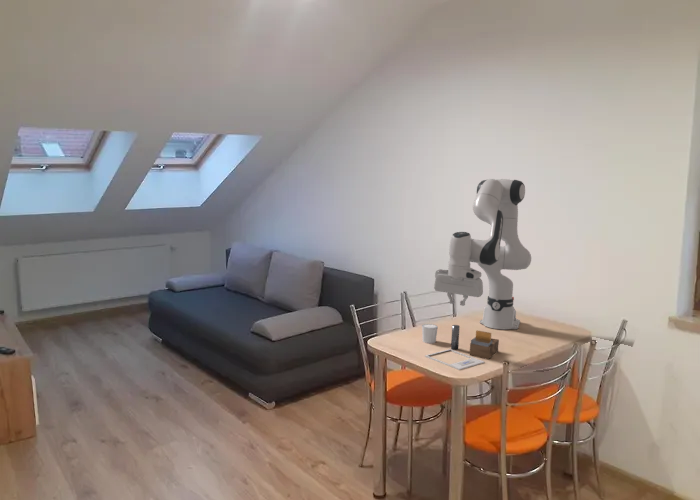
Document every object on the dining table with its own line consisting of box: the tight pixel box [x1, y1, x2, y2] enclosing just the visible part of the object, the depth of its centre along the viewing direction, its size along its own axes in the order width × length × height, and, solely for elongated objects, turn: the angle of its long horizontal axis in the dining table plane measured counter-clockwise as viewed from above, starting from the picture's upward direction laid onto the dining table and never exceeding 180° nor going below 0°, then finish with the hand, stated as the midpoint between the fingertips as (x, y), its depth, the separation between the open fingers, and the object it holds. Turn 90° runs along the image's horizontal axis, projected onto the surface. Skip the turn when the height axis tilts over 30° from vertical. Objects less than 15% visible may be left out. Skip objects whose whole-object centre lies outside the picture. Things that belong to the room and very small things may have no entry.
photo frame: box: [424, 348, 485, 371], centre depth 219 cm, size 15×1×18 cm
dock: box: [469, 337, 500, 360], centre depth 227 cm, size 12×8×5 cm, turn 148°
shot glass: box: [421, 323, 438, 344], centre depth 241 cm, size 7×7×7 cm
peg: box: [450, 324, 461, 351], centre depth 231 cm, size 3×3×10 cm
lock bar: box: [470, 330, 492, 347], centre depth 223 cm, size 5×7×4 cm
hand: (457, 304), depth 229 cm, fingers open, 3 cm apart
